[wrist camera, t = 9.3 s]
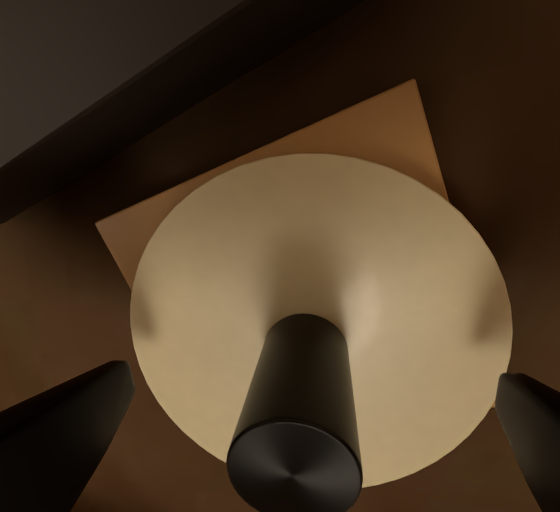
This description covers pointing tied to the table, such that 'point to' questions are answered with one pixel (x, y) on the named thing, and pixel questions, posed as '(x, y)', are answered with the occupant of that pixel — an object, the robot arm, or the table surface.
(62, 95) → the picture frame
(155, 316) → the lid
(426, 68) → the table surface
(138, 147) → the table surface
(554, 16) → the table surface
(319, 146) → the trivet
